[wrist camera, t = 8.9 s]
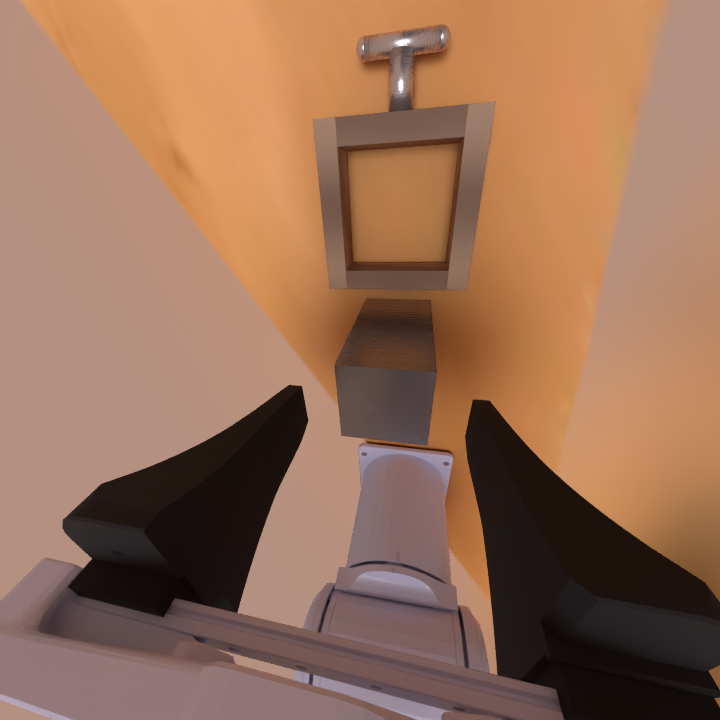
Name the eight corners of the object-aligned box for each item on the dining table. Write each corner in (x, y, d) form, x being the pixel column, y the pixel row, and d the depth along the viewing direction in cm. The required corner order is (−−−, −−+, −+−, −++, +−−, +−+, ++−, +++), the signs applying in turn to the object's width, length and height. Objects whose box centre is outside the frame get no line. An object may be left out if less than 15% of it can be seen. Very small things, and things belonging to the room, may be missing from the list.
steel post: (425, 356, 19) (427, 445, 13) (367, 352, 20) (341, 435, 13) (430, 300, 17) (436, 372, 11) (366, 298, 18) (334, 365, 11)
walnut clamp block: (461, 279, 16) (466, 290, 15) (338, 278, 18) (329, 288, 16) (497, 28, 11) (511, 1, 9) (319, 54, 12) (303, 33, 11)
